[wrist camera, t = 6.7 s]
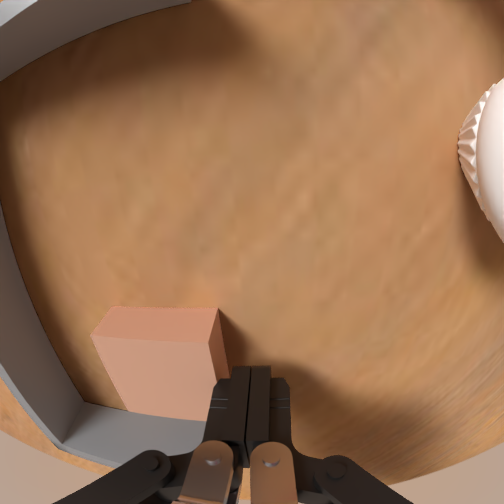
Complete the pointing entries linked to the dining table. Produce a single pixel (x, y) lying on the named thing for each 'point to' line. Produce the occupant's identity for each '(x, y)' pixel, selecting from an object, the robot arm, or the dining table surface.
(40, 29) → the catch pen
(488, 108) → the white rounded ceramic piece
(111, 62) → the dining table surface
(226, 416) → the robot arm
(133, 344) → the block
